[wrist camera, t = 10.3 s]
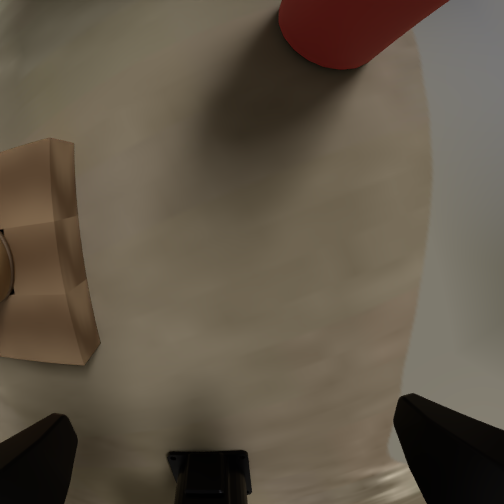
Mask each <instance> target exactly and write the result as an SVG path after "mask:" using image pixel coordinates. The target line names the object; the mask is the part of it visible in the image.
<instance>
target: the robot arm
mask: <svg viewBox="0 0 504 504" xmlns="http://www.w3.org/2000/svg"><path fill="white" fill-rule="evenodd" d="M393 423H394V427H395V430H396V433H397V435H398V438H399V441H400V443H401V446H402V449H403V452H404V454H405V458H406V460H407V463H408V466H409V468H410V470H411V472H412V474H413V476H414V478H415V481H416V483H417V485H418V487H419V489H420V491H421V493H422V495H423V497H424V499H425V501H426V503H427V504H504V430H502V429H499V428H496V427H493V426H491V425H489V424H486V423H484V422H481V421H478V420H476V419H473V418H471V417H468V416H466V415H463V414H461V413H459V412H456V411H454V410H451V409H449V408H447V407H444V406H442V405H440V404H437V403H435V402H433V401H430V400H428V399H426V398H424V397H421V396H419V395H417V394H414V393H411V394H407V395H403V396H401V397H400V398H399V399H398V403H397V407H396V410H395V414H394V419H393ZM77 443H78V439H77V435H76V433H75V431H74V429H73V427H72V424H71V422H70V420H69V418H68V417H67V416H66V415H64V414H58V413H53V414H51V415H49V416H47V417H46V418H44V419H42V420H40V421H39V422H37V423H35V424H33V425H32V426H30V427H28V428H26V429H25V430H23V431H21V432H19V433H18V434H16V435H14V436H12V437H11V438H9V439H7V440H5V441H3V442H2V443H0V504H64V502H65V499H66V495H67V492H68V488H69V484H70V480H71V474H72V469H73V463H74V458H75V453H76V448H77ZM167 459H168V461H169V464H170V467H171V470H172V472H173V475H174V477H175V480H176V483H177V487H176V494H175V502H174V504H248V503H247V495H249V494H251V493H252V488H251V479H250V469H249V460H248V453H247V452H246V451H243V450H240V451H218V452H169V453H168V456H167Z"/></svg>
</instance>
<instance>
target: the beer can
mask: <svg viewBox="0 0 504 504" xmlns="http://www.w3.org/2000/svg"><path fill="white" fill-rule="evenodd" d="M448 1H449V0H282V2H281V5H280V8H279V26H280V29H281V31H282V34H283V36H284V38H285V39H286V40H287V42H288V43H289V44H290V45H291V47H292V48H293V49H294V50H295V51H296V52H298V53H299V54H300V55H302V56H303V57H304V58H306V59H307V60H309V61H311V62H313V63H316V64H318V65H320V66H323V67H327V68H333V69H339V70H343V69H353V68H357V67H359V66H361V65H364V64H366V63H368V62H369V61H370V60H372V59H373V58H374V57H375V56H376V55H378V54H379V53H380V52H381V51H383V50H384V49H385V48H387V47H388V46H389V45H390V44H392V43H393V42H394V41H395V40H397V39H398V38H399V37H401V36H402V35H403V34H404V33H406V32H407V31H408V30H410V29H411V28H412V27H414V26H415V25H416V24H418V23H419V22H420V21H422V20H423V19H424V18H426V17H427V16H429V15H430V14H431V13H433V12H434V11H435V10H437V9H438V8H440V7H441V6H442V5H444V4H445V3H447V2H448Z"/></svg>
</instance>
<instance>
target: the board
mask: <svg viewBox="0 0 504 504" xmlns="http://www.w3.org/2000/svg"><path fill="white" fill-rule="evenodd" d="M0 229H4V236H5V238H6V239H7V241H8V243H9V245H10V248H11V251H12V254H13V258H14V263H15V282H14V286H13V289H12V291H11V293H10V295H9V296H8V298H7V299H6V300H4V301H3V302H1V303H0V356H2V357H8V358H15V359H23V360H31V361H40V362H49V363H59V364H71V365H85V364H86V362H87V361H88V360H89V358H90V357H91V355H92V354H93V353H94V351H95V350H96V349H97V347H98V346H99V345H100V343H101V342H100V338H99V334H98V330H97V326H96V322H95V317H94V313H93V308H92V304H91V299H90V294H89V288H88V283H87V277H86V272H85V266H84V259H83V253H82V245H81V238H80V230H79V221H78V211H77V199H76V185H75V166H74V143H71V142H66V141H62V140H58V139H53V138H46V139H43V140H39V141H35V142H32V143H28V144H25V145H22V146H18V147H15V148H12V149H9V150H6V151H3V152H0Z"/></svg>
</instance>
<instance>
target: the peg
mask: <svg viewBox="0 0 504 504" xmlns="http://www.w3.org/2000/svg"><path fill="white" fill-rule="evenodd" d="M14 282H15V263H14V258H13V254H12V251H11V248H10V245H9V243H8V241H7V239H6V238H5V236H4V235H3V233H2V232H1V231H0V303H1V302H3V301H4V300H6V299H7V298H8V296H9V295H10V293H11V291H12V289H13V286H14Z"/></svg>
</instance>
